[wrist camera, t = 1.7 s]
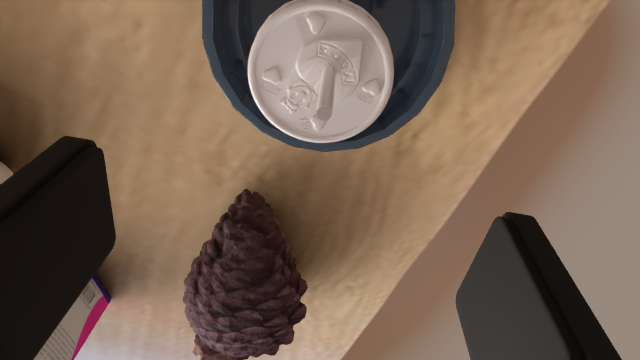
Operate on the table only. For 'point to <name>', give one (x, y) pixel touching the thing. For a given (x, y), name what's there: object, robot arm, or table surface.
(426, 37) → the dish
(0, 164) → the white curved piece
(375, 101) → the smoothie
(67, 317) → the supplement box
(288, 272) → the pine cone
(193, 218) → the table surface
